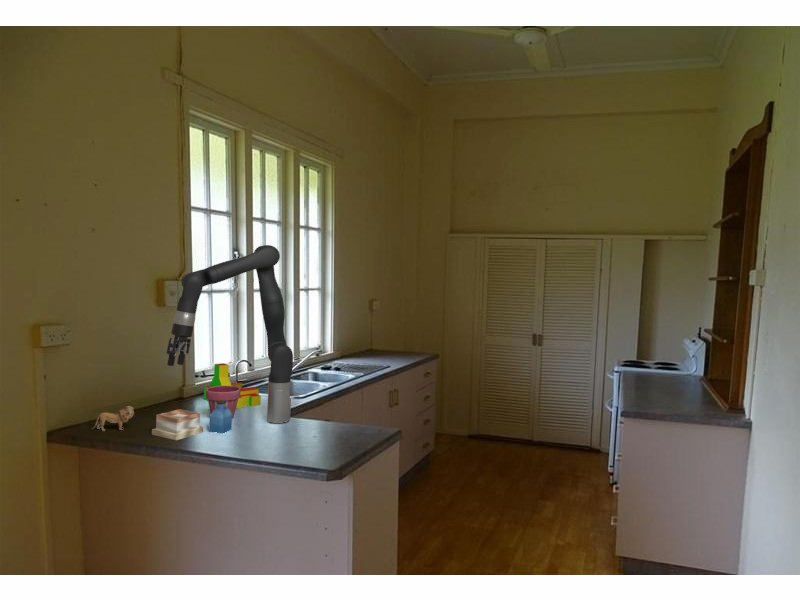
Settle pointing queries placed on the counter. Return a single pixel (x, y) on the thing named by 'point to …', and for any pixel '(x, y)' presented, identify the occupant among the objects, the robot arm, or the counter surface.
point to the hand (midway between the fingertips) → (175, 365)
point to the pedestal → (177, 424)
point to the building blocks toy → (221, 379)
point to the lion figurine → (115, 417)
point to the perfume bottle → (220, 418)
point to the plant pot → (223, 397)
